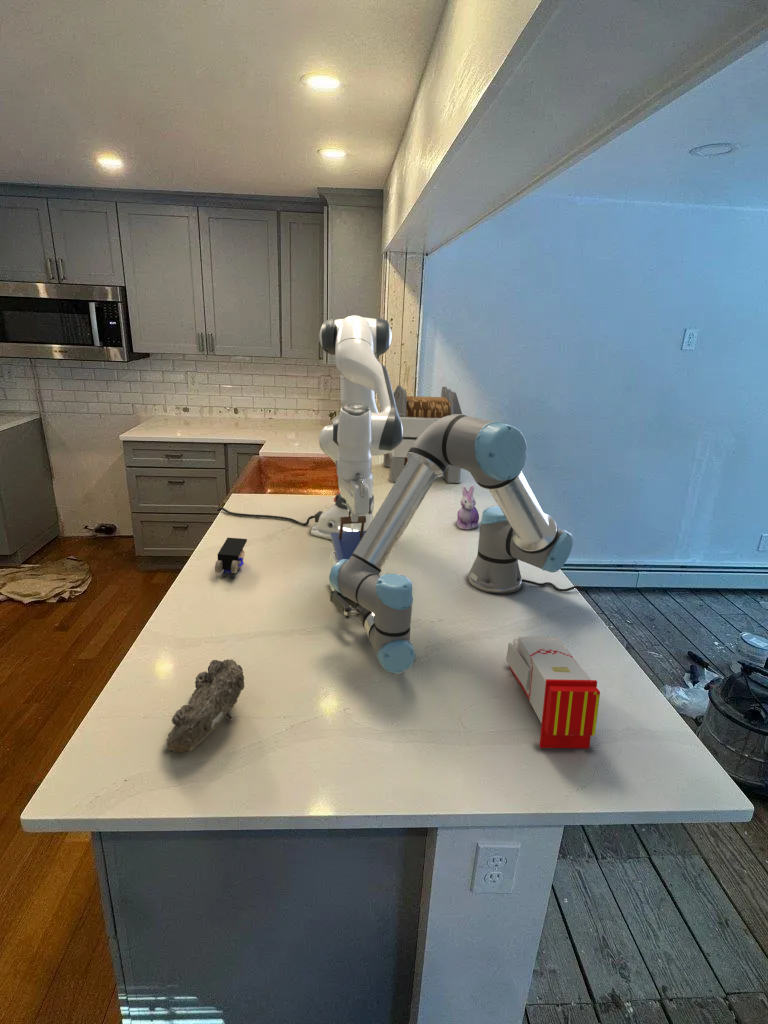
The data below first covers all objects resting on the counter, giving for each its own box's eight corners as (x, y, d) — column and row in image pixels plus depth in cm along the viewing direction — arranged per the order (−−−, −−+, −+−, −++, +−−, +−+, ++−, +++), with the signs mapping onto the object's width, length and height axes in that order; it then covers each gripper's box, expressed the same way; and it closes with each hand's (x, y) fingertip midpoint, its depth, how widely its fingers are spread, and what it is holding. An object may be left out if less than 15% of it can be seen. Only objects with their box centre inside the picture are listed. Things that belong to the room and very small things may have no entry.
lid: (330, 535, 155) (333, 512, 150) (365, 533, 158) (369, 510, 153) (341, 573, 144) (343, 549, 139) (378, 570, 147) (382, 547, 142)
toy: (554, 620, 129) (609, 687, 99) (549, 674, 131) (601, 755, 102) (501, 619, 128) (541, 686, 99) (497, 673, 131) (534, 754, 102)
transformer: (382, 463, 289) (386, 382, 275) (445, 464, 293) (451, 384, 279) (390, 482, 257) (394, 392, 243) (460, 483, 261) (468, 394, 247)
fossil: (192, 660, 117) (244, 628, 112) (224, 691, 120) (276, 661, 115) (142, 746, 98) (202, 712, 93) (182, 779, 101) (242, 748, 96)
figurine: (464, 532, 204) (468, 492, 199) (449, 522, 212) (452, 484, 207) (486, 528, 208) (490, 489, 203) (469, 519, 216) (473, 481, 211)
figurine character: (238, 584, 162) (249, 557, 175) (236, 562, 158) (247, 536, 172) (215, 584, 161) (227, 556, 175) (212, 561, 158) (225, 535, 171)
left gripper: (376, 480, 137) (374, 533, 142) (356, 457, 155) (355, 505, 160) (350, 481, 135) (349, 534, 140) (334, 458, 153) (333, 506, 158)
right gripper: (330, 642, 128) (314, 596, 148) (424, 631, 134) (396, 588, 154) (331, 613, 125) (314, 570, 145) (426, 603, 131) (398, 563, 151)
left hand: (352, 518), depth 150 cm, fingers closed, pressing on lid
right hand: (356, 579), depth 150 cm, fingers closed on chest, 10 cm apart
